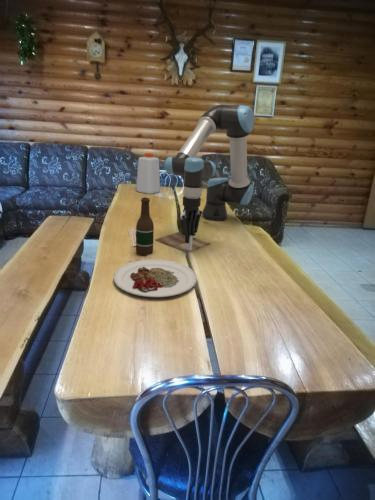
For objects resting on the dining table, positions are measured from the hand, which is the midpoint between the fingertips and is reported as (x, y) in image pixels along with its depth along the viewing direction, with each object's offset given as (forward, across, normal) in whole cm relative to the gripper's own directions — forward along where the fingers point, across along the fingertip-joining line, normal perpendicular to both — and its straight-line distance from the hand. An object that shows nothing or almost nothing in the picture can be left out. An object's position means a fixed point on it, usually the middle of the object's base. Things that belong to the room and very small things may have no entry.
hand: (188, 249), depth 151 cm
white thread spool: (+1, -68, -99) cm, 120 cm away
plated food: (+2, +29, +9) cm, 31 cm away
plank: (+1, -6, -3) cm, 7 cm away
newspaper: (+2, +6, -27) cm, 28 cm away
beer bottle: (+2, +15, -12) cm, 19 cm away
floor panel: (+1, -6, -13) cm, 14 cm away
